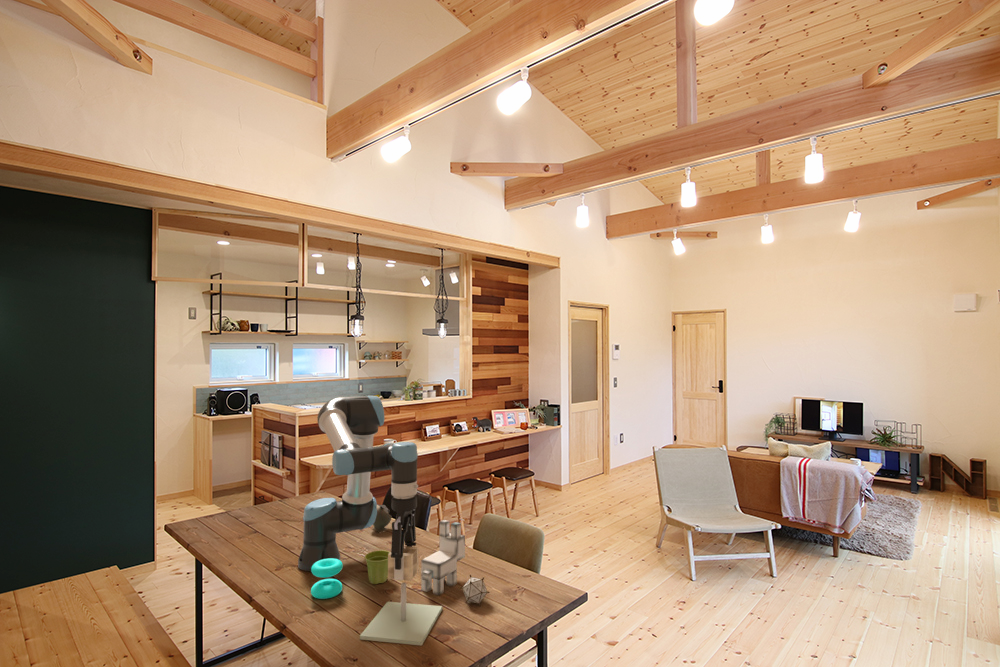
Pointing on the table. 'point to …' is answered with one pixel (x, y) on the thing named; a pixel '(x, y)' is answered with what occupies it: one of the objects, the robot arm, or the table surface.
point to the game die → (474, 590)
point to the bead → (406, 563)
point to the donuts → (326, 586)
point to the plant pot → (377, 566)
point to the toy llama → (443, 559)
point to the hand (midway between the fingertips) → (403, 573)
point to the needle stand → (402, 622)
